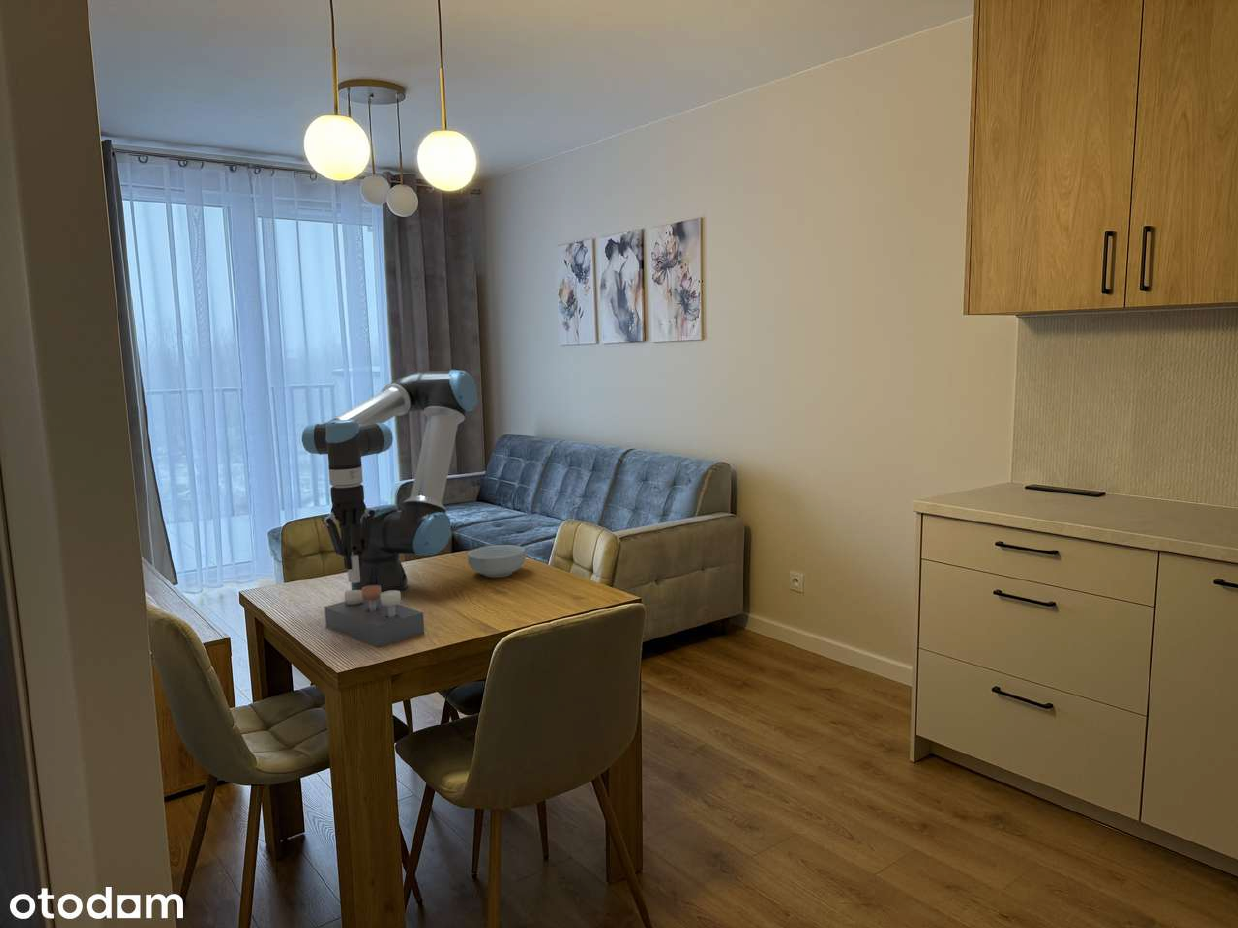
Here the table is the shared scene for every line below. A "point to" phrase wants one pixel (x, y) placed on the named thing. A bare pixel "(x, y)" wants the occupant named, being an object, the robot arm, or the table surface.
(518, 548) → the cereal bowl
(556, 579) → the table surface
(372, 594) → the rust knob middle
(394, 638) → the knob panel
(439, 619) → the table surface
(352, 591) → the cream knob
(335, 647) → the table surface
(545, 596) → the table surface
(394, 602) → the cream knob
